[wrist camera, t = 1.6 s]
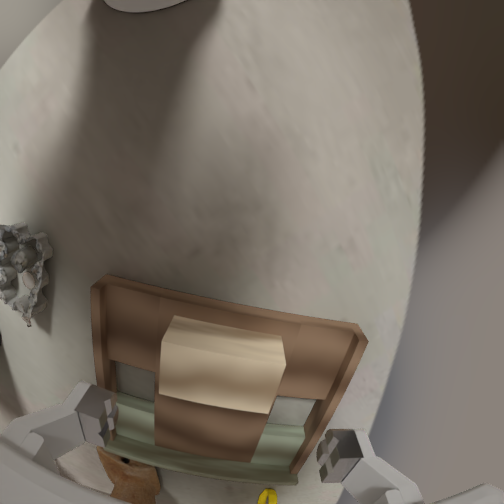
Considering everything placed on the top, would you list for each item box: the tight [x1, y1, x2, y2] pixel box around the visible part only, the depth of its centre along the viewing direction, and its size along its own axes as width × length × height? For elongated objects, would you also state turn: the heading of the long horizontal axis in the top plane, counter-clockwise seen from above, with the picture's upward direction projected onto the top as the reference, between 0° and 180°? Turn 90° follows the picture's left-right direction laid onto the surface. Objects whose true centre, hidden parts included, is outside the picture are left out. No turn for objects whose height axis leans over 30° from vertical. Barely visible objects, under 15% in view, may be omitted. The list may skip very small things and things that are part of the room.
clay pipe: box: [97, 445, 161, 504], centre depth 30 cm, size 15×12×15 cm
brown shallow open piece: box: [91, 274, 368, 485], centre depth 29 cm, size 24×26×5 cm
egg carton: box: [0, 222, 53, 327], centre depth 26 cm, size 11×8×4 cm
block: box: [159, 315, 286, 414], centre depth 25 cm, size 6×10×4 cm, turn 78°
